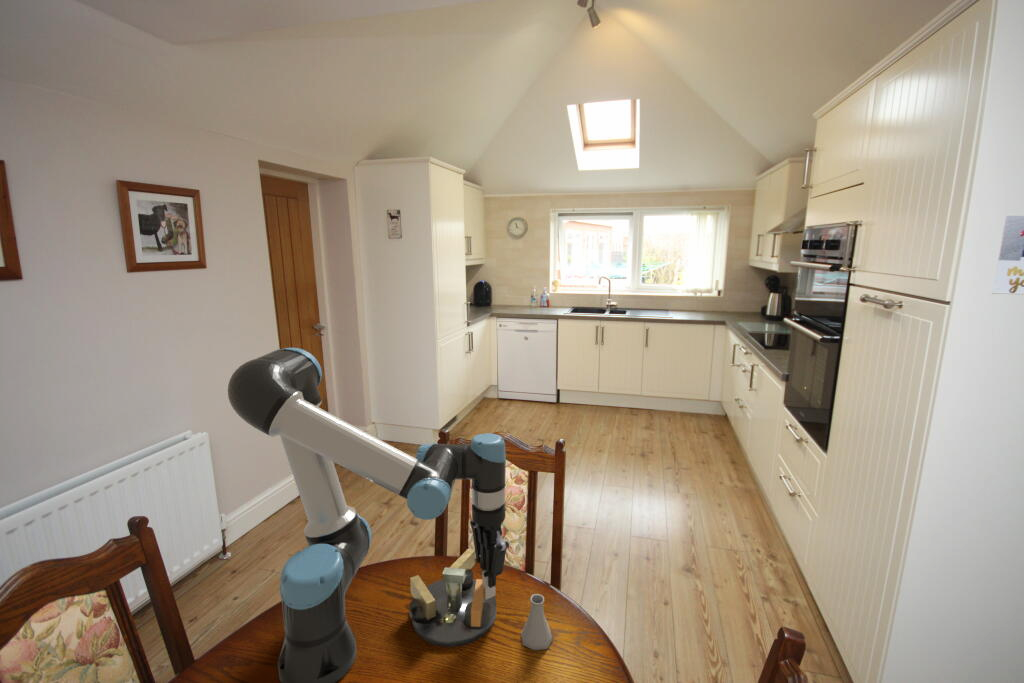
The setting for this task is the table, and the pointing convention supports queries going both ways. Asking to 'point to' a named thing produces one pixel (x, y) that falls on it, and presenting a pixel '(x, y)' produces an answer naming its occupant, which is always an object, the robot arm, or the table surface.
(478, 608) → the orange rectangular block
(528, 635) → the flask
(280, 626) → the table surface
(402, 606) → the table surface
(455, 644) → the round disc fixture
